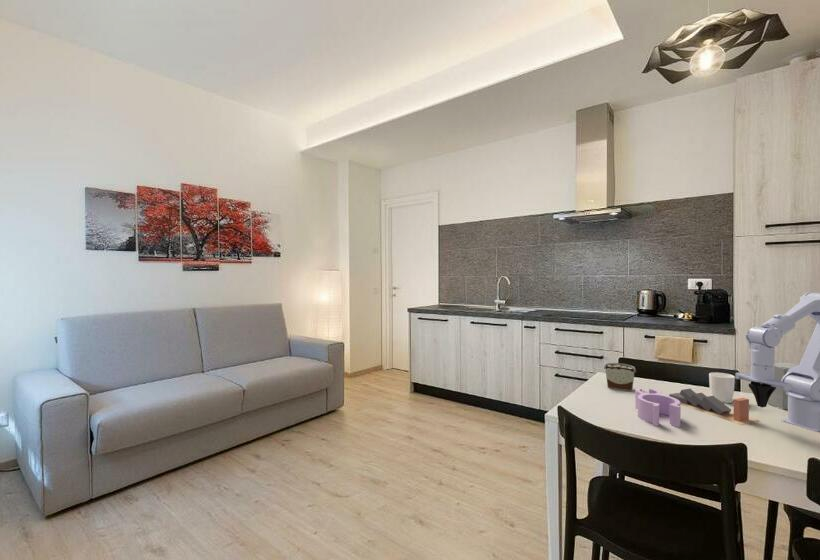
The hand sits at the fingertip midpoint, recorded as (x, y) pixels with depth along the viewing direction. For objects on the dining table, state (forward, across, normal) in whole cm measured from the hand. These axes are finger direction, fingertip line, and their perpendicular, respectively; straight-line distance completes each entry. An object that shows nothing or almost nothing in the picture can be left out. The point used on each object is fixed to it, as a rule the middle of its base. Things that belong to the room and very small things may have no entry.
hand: (761, 406), depth 127 cm
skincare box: (+7, -9, +29) cm, 31 cm away
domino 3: (+6, -15, 0) cm, 16 cm away
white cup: (+7, -22, +15) cm, 28 cm away
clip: (+7, -20, -22) cm, 31 cm away
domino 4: (+6, -11, 0) cm, 12 cm away
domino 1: (+6, -23, 0) cm, 24 cm away
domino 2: (+6, -19, 0) cm, 20 cm away
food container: (+7, -49, -7) cm, 50 cm away
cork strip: (+7, -16, 0) cm, 17 cm away
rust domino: (+7, -6, 0) cm, 9 cm away
